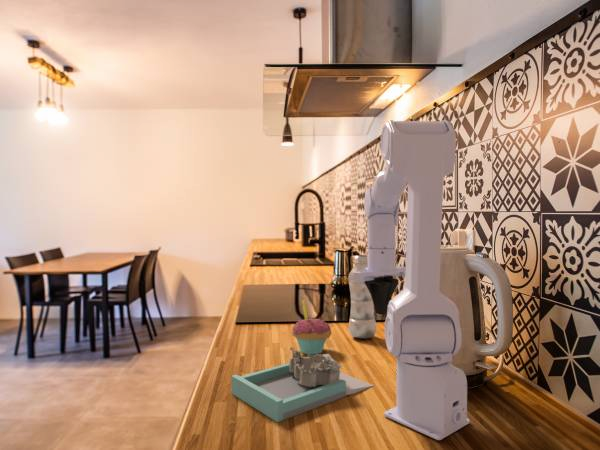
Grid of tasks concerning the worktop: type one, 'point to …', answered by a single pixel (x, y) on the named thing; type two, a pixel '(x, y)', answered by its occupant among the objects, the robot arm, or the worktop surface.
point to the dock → (289, 391)
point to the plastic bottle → (361, 303)
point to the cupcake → (311, 333)
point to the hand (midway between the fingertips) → (381, 313)
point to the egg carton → (314, 369)
